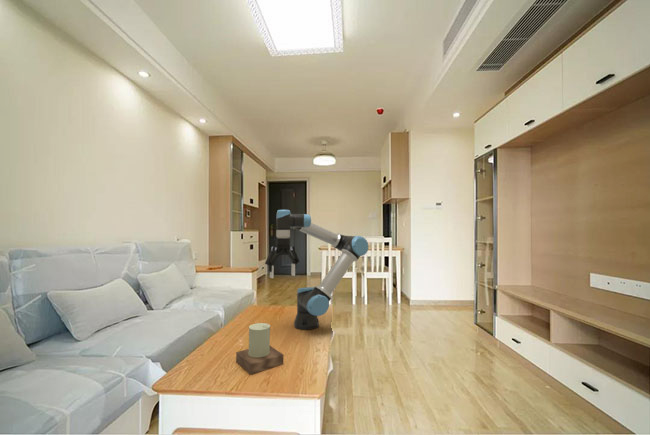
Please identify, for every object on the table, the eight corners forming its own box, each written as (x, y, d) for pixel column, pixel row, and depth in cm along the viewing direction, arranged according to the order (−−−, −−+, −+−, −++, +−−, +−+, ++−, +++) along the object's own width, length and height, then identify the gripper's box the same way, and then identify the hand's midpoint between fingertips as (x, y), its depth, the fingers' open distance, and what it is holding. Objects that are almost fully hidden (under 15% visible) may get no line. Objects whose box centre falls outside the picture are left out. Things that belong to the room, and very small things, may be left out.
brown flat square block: (266, 352, 132) (267, 343, 133) (283, 363, 121) (283, 354, 121) (236, 361, 123) (236, 351, 123) (250, 374, 111) (250, 364, 111)
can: (264, 358, 116) (265, 329, 117) (244, 356, 118) (244, 327, 119) (273, 349, 125) (273, 322, 126) (254, 348, 127) (254, 321, 128)
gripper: (298, 237, 165) (297, 273, 163) (259, 237, 149) (258, 278, 148) (305, 237, 159) (305, 275, 158) (265, 238, 143) (265, 279, 142)
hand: (282, 276), depth 153 cm, fingers open, 13 cm apart
